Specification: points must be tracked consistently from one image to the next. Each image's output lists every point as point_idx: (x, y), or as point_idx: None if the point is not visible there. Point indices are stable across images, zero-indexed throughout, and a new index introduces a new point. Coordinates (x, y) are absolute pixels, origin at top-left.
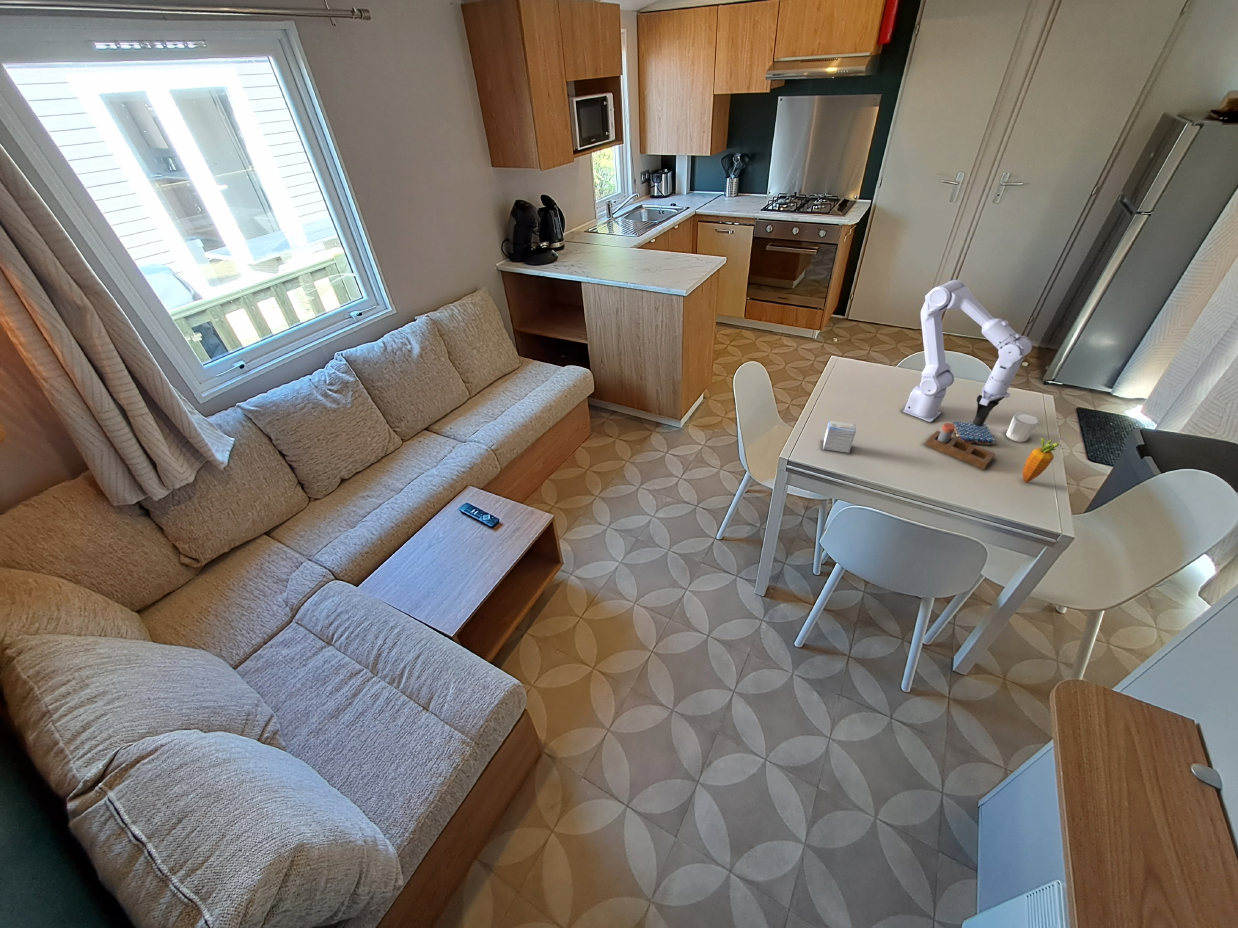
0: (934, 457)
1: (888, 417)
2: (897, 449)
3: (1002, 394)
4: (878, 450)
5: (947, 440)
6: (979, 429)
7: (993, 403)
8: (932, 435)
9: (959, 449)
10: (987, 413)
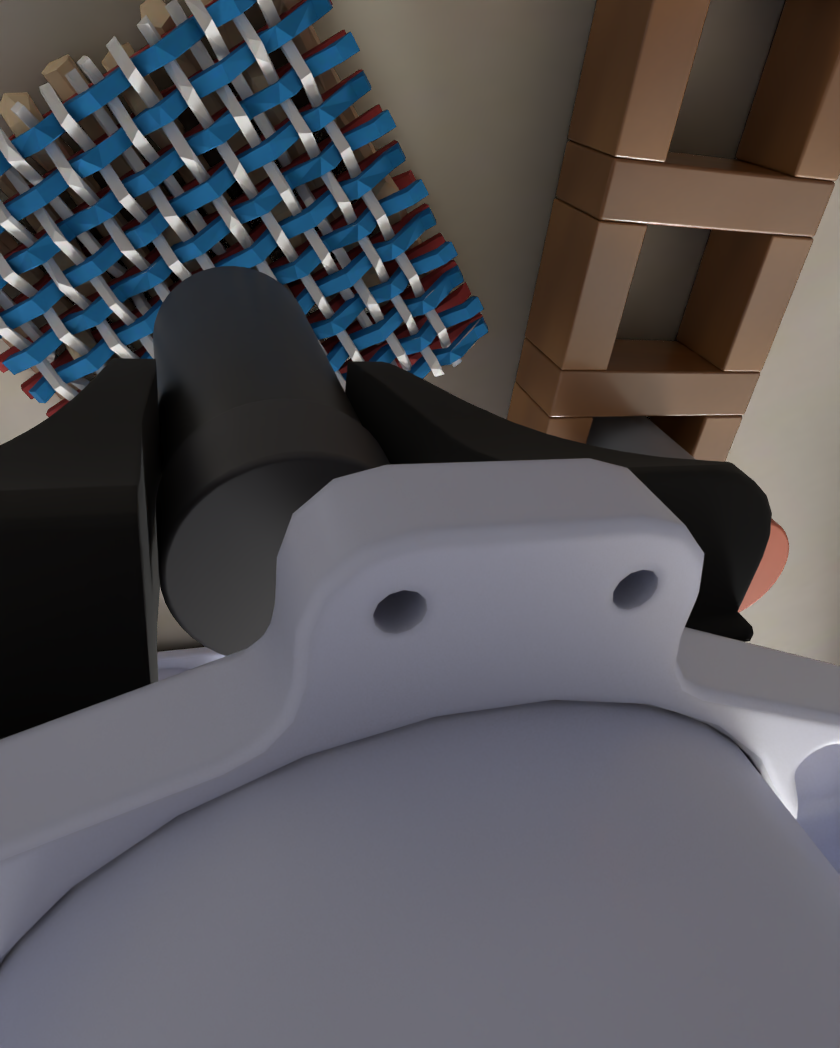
0: (788, 397)
1: None
2: (774, 602)
3: (699, 746)
4: (820, 656)
5: (673, 442)
6: (135, 251)
7: (722, 563)
8: None
9: (756, 295)
10: (461, 403)
